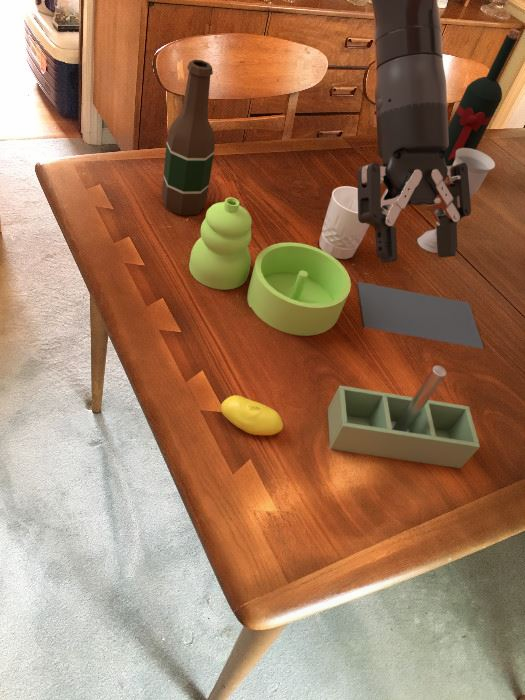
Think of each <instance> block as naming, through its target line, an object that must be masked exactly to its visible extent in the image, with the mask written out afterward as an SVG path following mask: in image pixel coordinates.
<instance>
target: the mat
mask: <svg viewBox="0 0 525 700" xmlns="http://www.w3.org/2000/svg"><path fill="white" fill-rule="evenodd" d="M356 285H357V292H358V298H359V306H360V314H361V321H362V322H361V323H362V327H363V328H364V329H371V330H376V331H382V332H387V333H388V332H389V333H393V334H398V335H403V336H410V337H416V338H419V339H421V338H422V339H427V340H432V341H438V342H443V343H449V344H455V345H461V346H465V347H471V348H477V349H482V350H485V347H484V344H483V341H482V339H481V335H480V332H479V329H478V327H477V323H476V320H475V317H474V314H473V310H472V308H471V305H470V302H467V301H462V300H457V299H451V298H445V297H440V296H436V295H430V294H424V293H419V292H415V291H408V290H404V289H400V288H399V289H398V288H395V287H387V286H383V285H377V284H374V283H366V282H362V281H357V283H356Z"/></svg>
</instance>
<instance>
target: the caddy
mask: <svg viewBox="0 0 525 700" xmlns="http://www.w3.org/2000/svg"><path fill="white" fill-rule="evenodd" d="M413 397H414V396H407V395H401V394H395V393H388V392H383V391H378V390H377V391H376V390H371V389H364V388H358V387H353V386H346V385H341V384H340V385H339V386H338V388H337V390H336V392H335V394H334V396H333V398H332V400H331V402H330V403H329V406H328V408H327V415H328V416H327V417H328V418H327V420H328V434H329V449H330V450H334V451H339V452H348V453H355V454H362V455H368V456H374V457H381V458H387V459H388V458H389V459H395V460H402V461H409V462H416V463H422V464H428V465H437V466H442V467H443V466H444V467H449V466H450V468H456V469H461V468H462V467H464V465H466V463H467V462H468V461H469V460H470V459H471V458H472V456H474V455H475V453H476V452H477V451H478V450H479V449H480V448H481V446H480V441H479V437H478V434H477V431H476V428H475V424H474V421H473V420H474V419H473V416H472V413H471V410H470V409H471V408H470V406H468V405H463V404H458V403H457V404H456V403H450V402H444V401H438V400H432V399H429V400H428V401H427V403H426V404H425V405H424V407H423V408H422V410H421V411H420V412H419V414H418V415H417V417H416V418H415V420H414V421H413V422H412V424H411V425H410V427H409V428H408V431H409V432H404V431H397V430H392V426H391V422H392V421H395V422H397V421H398V419H399V418H400V416H401V415H402V413H403V412H404V410H405V409H406V407H407V406H408V404H409V403H410V401H411V400H412V398H413Z"/></svg>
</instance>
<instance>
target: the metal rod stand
mask: <svg viewBox="0 0 525 700" xmlns="http://www.w3.org/2000/svg"><path fill="white" fill-rule="evenodd" d="M446 376H447V370H446V369H445V368H444V367H443V366H441V365H438V364H437V365H434V366H433V367H432V368H431V370H430V372H429V373H428V374H427V376H426V377H425V378H424V380H423V382H422V383H421V385H420V386H419V388H418V390H417V391H416V392H415V394H414V395H413V396H412V397H413V398H412V400H411V401H410V403H409V404H408V406H407V407H406V409H405V410H404V412H403V413H402V415H401V416H400V418H399V419H398V421H397V422H395V421H392V422H391V426H392V430H397V431H404V432H409V431H408V428H409V427H410V425H411V424H412V422H413V421H414V420H415V418H416V417H417V415H418V414H419V412H420V411H421V410H422V408H423V407H424V405H425V404H426V403H427V401H428V400H430V399H431V397H432V395H433V394H434V393H435V391H436V390H437V389H438V387H440V386H439V385H440V384H441V383H442V381H443V380H444V379H445V377H446Z"/></svg>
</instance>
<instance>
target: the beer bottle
mask: <svg viewBox="0 0 525 700" xmlns="http://www.w3.org/2000/svg"><path fill="white" fill-rule="evenodd" d="M186 69H187V70H188V73H187V81H186V86H185V92H184V98H183V104H182V107H181V111H180V113H179V115H178V116H177V117H176V118H175V119H174V120H173V121H172V123H171V125H170V127H169V129H168V132H167V137H166V144H165V156H164V167H163V178H162V187H161V188H162V189H161V199H162V201H163V203H164V207H165V208H166V210H168V211H170V212H172V213H175V214H176V215H179V216H197V215H198V214H199V213H200V212H201V211H202V210H203V209H204V208H205V207H206V204H207V198H208V193H209V186H210V181H211V174H212V169H213V163H214V157H215V148H216V147H215V146H216V140H215V139H216V138H215V134H214V133H215V132H214V130H213V128H212V125H211V123H210V121H209V98H210V97H209V96H210V87H211V76H212V75H213V74H214V71H213V66H212V65H211V64H210V62H207V61H205V60H202V59H191V61H189V62H188V64H187V67H186Z"/></svg>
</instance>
